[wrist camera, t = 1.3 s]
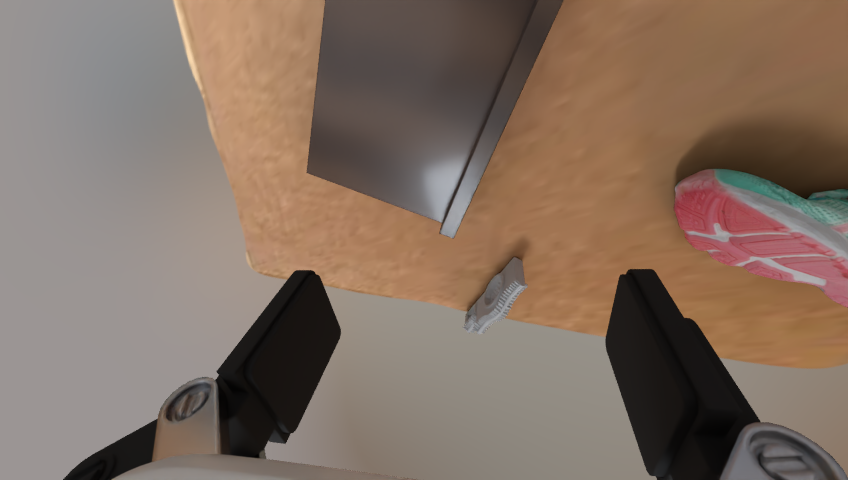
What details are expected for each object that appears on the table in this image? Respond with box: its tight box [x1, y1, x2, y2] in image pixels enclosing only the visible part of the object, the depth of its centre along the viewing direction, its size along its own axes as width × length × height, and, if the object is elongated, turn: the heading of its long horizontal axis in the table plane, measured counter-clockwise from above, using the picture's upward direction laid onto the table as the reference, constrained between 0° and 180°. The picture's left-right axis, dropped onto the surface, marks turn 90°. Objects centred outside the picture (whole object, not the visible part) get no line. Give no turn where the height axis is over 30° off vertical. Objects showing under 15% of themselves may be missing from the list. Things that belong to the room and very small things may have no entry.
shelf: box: [307, 0, 563, 238], centre depth 28 cm, size 24×16×6 cm, turn 162°
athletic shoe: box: [674, 169, 848, 308], centre depth 28 cm, size 27×9×12 cm
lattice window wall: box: [463, 257, 528, 334], centre depth 40 cm, size 12×2×6 cm, turn 155°
